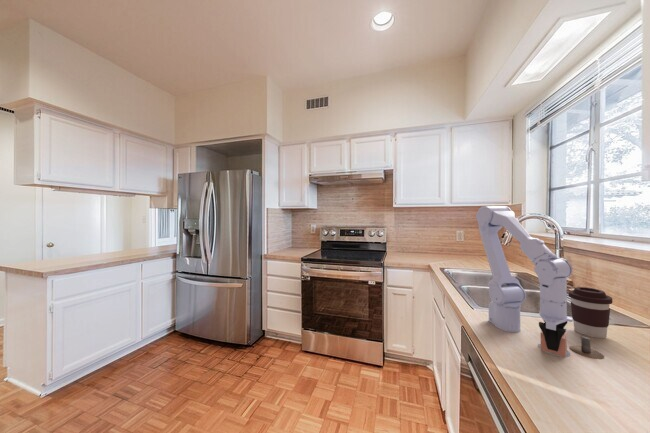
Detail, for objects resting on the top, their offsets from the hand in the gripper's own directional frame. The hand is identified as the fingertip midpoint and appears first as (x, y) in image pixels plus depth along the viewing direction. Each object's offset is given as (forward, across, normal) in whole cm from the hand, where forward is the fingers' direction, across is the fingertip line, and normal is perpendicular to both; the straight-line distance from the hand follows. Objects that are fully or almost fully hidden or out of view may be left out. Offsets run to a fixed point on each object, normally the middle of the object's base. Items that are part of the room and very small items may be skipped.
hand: (553, 345), depth 71 cm
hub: (+2, +5, -6) cm, 8 cm away
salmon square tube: (+1, 0, 0) cm, 1 cm away
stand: (+2, 0, 0) cm, 2 cm away
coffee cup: (+2, +22, -7) cm, 24 cm away
